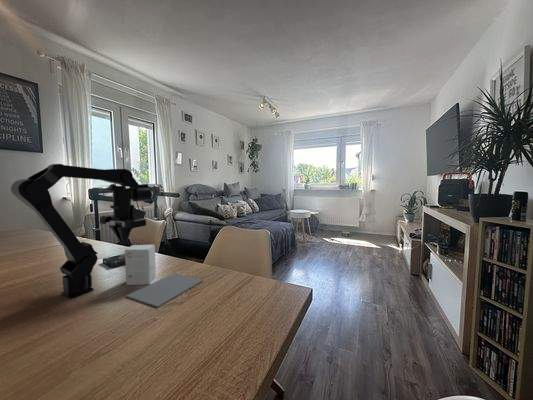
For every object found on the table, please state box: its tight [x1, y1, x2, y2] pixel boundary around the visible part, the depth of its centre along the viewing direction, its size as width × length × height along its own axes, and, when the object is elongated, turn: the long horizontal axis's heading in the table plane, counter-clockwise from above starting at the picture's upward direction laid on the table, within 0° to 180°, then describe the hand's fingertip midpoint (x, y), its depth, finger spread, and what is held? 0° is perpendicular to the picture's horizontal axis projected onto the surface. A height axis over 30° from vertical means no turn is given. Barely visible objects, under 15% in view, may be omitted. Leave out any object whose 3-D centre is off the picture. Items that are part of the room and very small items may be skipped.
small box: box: [124, 244, 157, 286], centre depth 85 cm, size 8×6×13 cm
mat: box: [125, 272, 204, 309], centre depth 80 cm, size 20×14×1 cm
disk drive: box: [102, 253, 126, 269], centre depth 106 cm, size 10×3×15 cm
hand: (123, 243), depth 88 cm, fingers closed
